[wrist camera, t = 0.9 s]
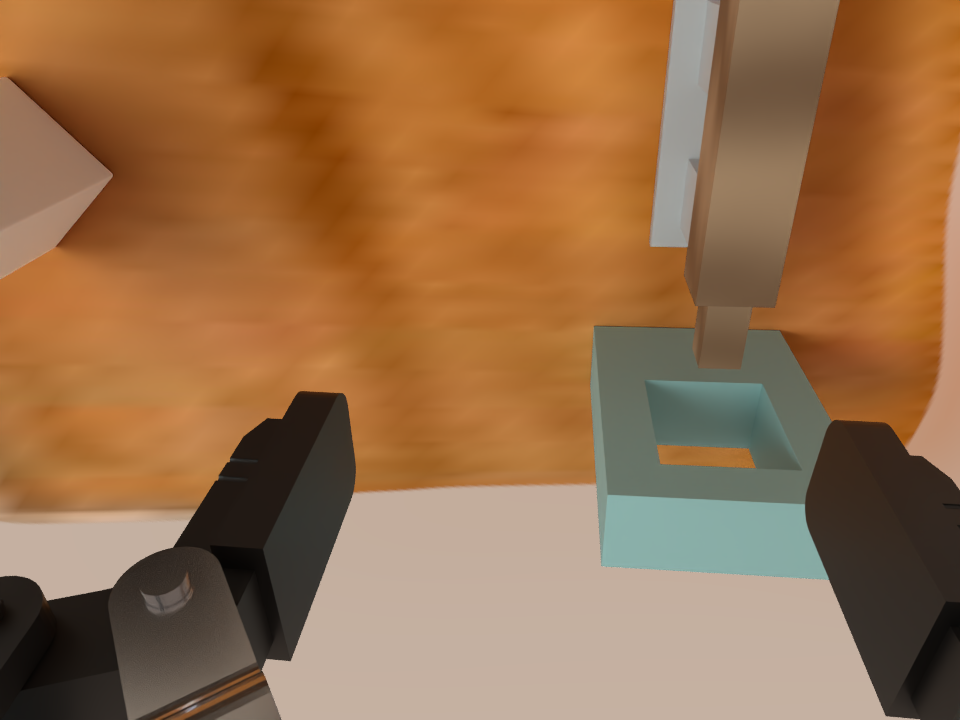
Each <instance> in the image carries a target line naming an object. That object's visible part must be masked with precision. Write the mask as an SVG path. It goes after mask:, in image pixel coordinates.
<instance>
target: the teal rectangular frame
mask: <svg viewBox="0 0 960 720" xmlns="http://www.w3.org/2000/svg"><path fill="white" fill-rule="evenodd" d="M694 332H695V328H653V327H610V326H594V335H593V351H592V367H591V383H590V387H591V403H592V419H593V436H594V452H595V468H596V485H597V500H598V517H599V534H600V549H601V566H606V567H623V568H640V569H657V570H673V571H691V572H707V573H725V574H741V575H758V576H759V575H760V576H774V577H775V576H776V577H793V578H808V579H825V580H829V578H828V576H827V573H826V571H825V569H824V566H823V564H822V561H821V559H820V557H819V554H818V552H817V549H816V547H815V544H814V542H813V540H812V537H811V535H810V532H809V530H808V527H807V523H806V516H805V498H806V492H807V489H808V486H809V483H810V479H811V476H812V473H813V470H814V467H815V464H816V461H817V458H818V455H819V452H820V448H821V445H822V442H823V439H824V436H825V433H826V430H827V428H828V426H829V425H830V423H831V422H832V421H831V420H830V418H829V416H828V414H827V413H826V411H825V409H824V407H823V406H822V404H821V402H820V400H819V399H818V397H817V395H816V393H815V392H814V390H813V388H812V386H811V385H810V383H809V381H808V379H807V378H806V376H805V374H804V372H803V371H802V369H801V367H800V365H799V364H798V362H797V360H796V358H795V357H794V355H793V353H792V351H791V350H790V348H789V346H788V344H787V343H786V341H785V339H784V337H783V336H782V334H781V332H780V330H748V334H747V339H746V344H745V349H744V354H743V360H742V365H741V369H707V368H698V365H697V362H696V359H695V356H694V352H693V349H692V346H693V339H694ZM657 445H678V446H703V447H727V448H749V450H750V453H751V456H752V459H753V461H754V464H755V467H756V468H733V467H710V466H687V465H664V464H660V460H659V455H658V450H657Z"/></svg>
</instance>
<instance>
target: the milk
mask: <svg viewBox="0 0 960 720" xmlns="http://www.w3.org/2000/svg"><path fill="white" fill-rule="evenodd" d="M112 177H113V174H112V173H111V172H110V171H109V170H108V169H107V168H106V167H105V166H104V165H102V164H101V163H100V162H99V161H98V160H97V159H96V158H95V157H94V156H93V155H92V154H91V153H89V152H88V151H87V150H86V149H85V148H84V147H83V146H82V145H81V144H80V143H79V142H77V141H76V140H75V139H74V138H73V137H72V136H71V135H70V134H69V133H68V132H67V131H65V130H64V129H63V128H62V127H61V126H60V125H59V124H58V123H57V122H56V121H55V120H53V119H52V118H51V117H50V116H49V115H48V114H47V113H46V112H45V111H44V110H43V109H42V108H40V107H39V106H38V105H37V104H36V103H35V102H34V101H33V100H32V99H31V98H30V97H28V96H27V95H26V94H25V93H24V92H23V91H22V90H21V89H20V88H19V87H18V86H16V85H15V84H14V83H13V82H12V81H11V80H10V79H9V78H7V77H2V78H0V279H2V278H4V277H5V276H7V275H9V274H10V273H12V272H14V271H16V270H17V269H19V268H21V267H23V266H24V265H26V264H28V263H29V262H31V261H33V260H35V259H36V258H38V257H40V256H42V255H43V254H45V253H47V252H48V251H50V250H52V249H53V248H55V247H56V245H57V244H58V243H59V242H60V241H61V239H62V238H63V237H64V236H65V234H66V233H67V232H68V231H69V230H70V228H71V227H72V226H73V225H74V223H75V222H76V221H77V220H78V219H79V217H80V216H81V215H82V214H83V213H84V211H85V210H86V209H87V208H88V206H89V205H90V204H91V203H92V202H93V200H94V199H95V198H96V197H97V195H98V194H99V193H100V192H101V191H102V189H103V188H104V187H105V186H106V184H107V183H108V182H109V181H110V180H111V178H112Z"/></svg>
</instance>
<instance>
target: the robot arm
mask: <svg viewBox="0 0 960 720" xmlns="http://www.w3.org/2000/svg"><path fill="white" fill-rule="evenodd" d="M355 474H356V465H355V456H354V448H353V441H352V433H351V426H350V419H349V411H348V404H347V400H346V397H345V395H344V394H343V393H326V392H307V391H300V392H298V393H297V395H296V396H295V398H294V399H293V401H292V403H291V405H290V406H289V408H288V410H287V412H286V413H285V415H284V417H283V418H282V419H270V418H267V419H266V420H265V421H263V422H262V423H261V424H259V425H258V426H257V427H255V428H254V429H253V430H252V431H250V432H249V433H248V434H246V435H245V436H244V437H243V438H242V440H241V442H240V443H239V445H238V446H237V448H236V449H235V451H234V453H233V454H232V456H231V457H230V462H227V464H226V465H225V467H224V468H223V470H222V471H221V473H220V475H219V480H218V481H215V482H214V484H213V486H212V487H211V489H210V490H209V492H208V493H207V495H206V497H205V498H204V500H203V501H202V503H201V505H200V506H199V508H198V509H197V511H196V512H195V514H194V516H193V517H192V519H191V520H190V522H189V523H188V525H187V527H186V528H185V530H184V531H183V533H182V534H181V536H180V538H179V539H178V541H177V542H176V544H175V545H174V547H173V548H170V549H166V550H162V551H159V552H156V553H154V554H152V555H150V556H148V557H146V558H144V559H142V560H140V561H139V562H137V563H136V564H134V565H133V566H132V567H131V568H129V569H128V570H127V571H126V572H125V573H124V574H123V575H122V576H121V577H120V579H119V580H118V581H117V583H116V584H115V585H114V587H113V588H111V589H106V590H102V591H97V592H91V593H86V594H81V595H75V596H70V597H65V598H59V599H54V600H49V601H47V600H46V598H45V597H44V594H43V592H42V590H41V589H40V587H39V586H38V585H37V583H36V582H34V581H32V580H30V579H28V578H25V577H19V576H4V577H0V720H281V717H280V715H279V712H278V709H277V707H276V705H275V701H274V699H273V697H272V694H271V691H270V688H269V686H268V683H267V681H266V678H265V676H264V674H263V672H262V671H261V670H262V668H263V666H264V663H265V661H266V659H274V660H286V661H291V658H292V656H293V653H294V651H295V648H296V645H297V643H298V640H299V637H300V635H301V631H302V629H303V627H304V624H305V621H306V619H307V616H308V613H309V611H310V608H311V605H312V602H313V600H314V597H315V595H316V592H317V589H318V587H319V584H320V581H321V579H322V576H323V573H324V571H325V568H326V565H327V562H328V560H329V557H330V554H331V552H332V549H333V547H334V544H335V541H336V538H337V536H338V533H339V530H340V528H341V525H342V522H343V520H344V517H345V514H346V512H347V509H348V506H349V503H350V501H351V498H352V495H353V490H354V485H355ZM805 516H806V523H807V527H808V530H809V532H810V535H811V537H812V540H813V542H814V544H815V547H816V549H817V552H818V554H819V557H820V559H821V561H822V564H823V566H824V569H825V571H826V573H827V576H828V578H829V580H830V583H831V585H832V588H833V590H834V593H835V595H836V597H837V600H838V602H839V604H840V607H841V609H842V612H843V614H844V617H845V619H846V621H847V624H848V626H849V629H850V631H851V633H852V636H853V638H854V641H855V643H856V645H857V648H858V650H859V652H860V655H861V658H862V660H863V662H864V665H865V667H866V669H867V672H868V674H869V677H870V679H871V681H872V684H873V686H874V689H875V691H876V694H877V696H878V698H879V701H880V703H881V706H882V708H883V710H884V713H885V715H886V716H890V717H902V718H914V719H920V720H960V490H959V489H958V487H957V486H956V484H955V483H954V482H953V480H952V479H950V477H948V476H947V475H946V474H944V473H943V472H942V471H940V470H939V469H938V468H936V467H935V466H934V465H932V464H931V463H930V462H929V461H927V460H926V459H925V458H923V457H922V456H910V455H909V453H908V452H907V450H906V449H905V447H904V446H903V444H902V443H901V441H900V440H899V438H898V437H897V435H896V434H895V432H894V431H893V429H892V428H891V427H890V426H889V425H888V424H886V423H882V422H863V421H843V420H835V421H833V422H831V423H830V425H829V426H828V428H827V430H826V433H825V436H824V439H823V442H822V445H821V448H820V452H819V455H818V458H817V461H816V464H815V467H814V470H813V473H812V476H811V479H810V483H809V486H808V489H807V492H806V498H805Z"/></svg>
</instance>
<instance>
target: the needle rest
mask: <svg viewBox="0 0 960 720" xmlns="http://www.w3.org/2000/svg"><path fill="white" fill-rule="evenodd" d="M719 7H720V0H674V2H673V12H672V22H671V32H670V42H669V51H668V61H667V71H666V81H665V91H664V101H663V110H662V120H661V130H660V140H659V150H658V160H657V170H656V179H655V189H654V199H653V209H652V219H651V229H650V238H649V243H650V247H688V241H689V234H690V226H691V218H692V211H693V203H694V196H695V188H696V181H697V173H698V165H699V158H700V150H701V143H702V135H703V128H704V120H705V113H706V105H707V97H708V90H709V82H710V75H711V67H712V60H713V52H714V44H715V37H716V29H717V22H718V14H719Z"/></svg>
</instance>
